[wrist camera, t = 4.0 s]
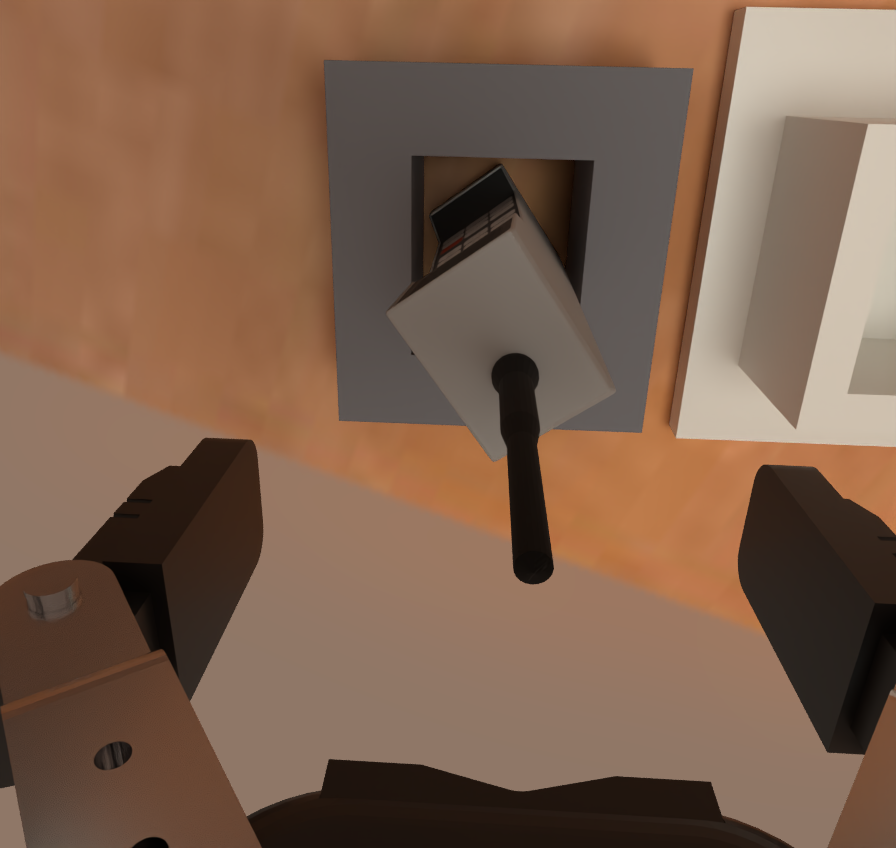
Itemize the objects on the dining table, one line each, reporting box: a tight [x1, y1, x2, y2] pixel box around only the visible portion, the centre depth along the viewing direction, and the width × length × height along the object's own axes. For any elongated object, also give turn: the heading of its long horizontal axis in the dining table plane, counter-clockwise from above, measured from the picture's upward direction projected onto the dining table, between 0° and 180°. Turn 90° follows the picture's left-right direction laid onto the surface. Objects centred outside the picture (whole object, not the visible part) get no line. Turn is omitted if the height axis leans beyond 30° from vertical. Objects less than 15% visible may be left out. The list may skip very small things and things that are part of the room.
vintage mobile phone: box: [386, 164, 616, 584], centre depth 22 cm, size 4×5×25 cm
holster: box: [324, 60, 693, 433], centre depth 31 cm, size 14×12×6 cm
